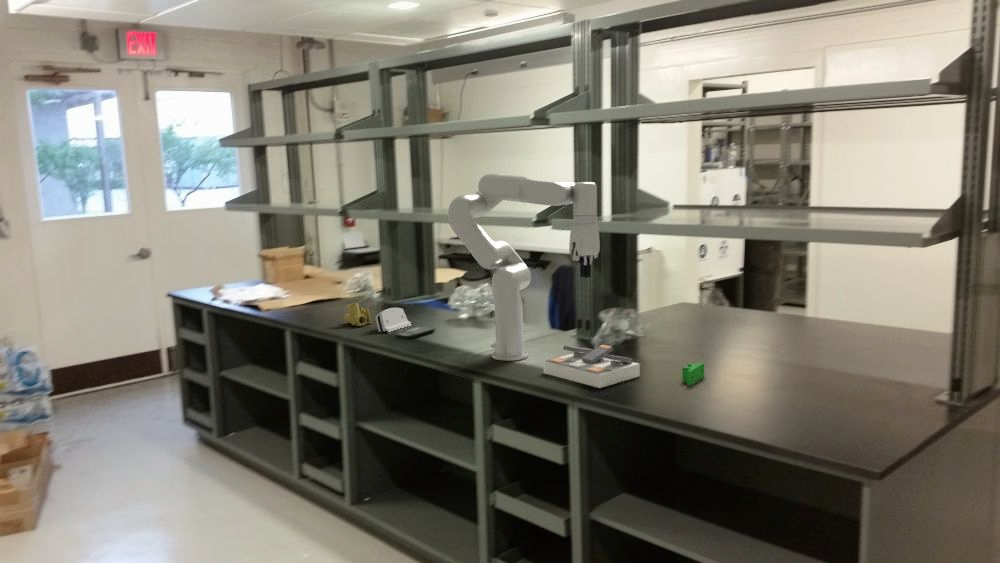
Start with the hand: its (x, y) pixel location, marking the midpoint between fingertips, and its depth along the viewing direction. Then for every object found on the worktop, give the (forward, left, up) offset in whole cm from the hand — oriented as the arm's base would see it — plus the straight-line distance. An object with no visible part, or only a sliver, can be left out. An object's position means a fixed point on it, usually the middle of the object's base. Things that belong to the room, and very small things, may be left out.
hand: (585, 276), depth 248 cm
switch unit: (+11, -9, -29) cm, 32 cm away
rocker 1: (+3, -6, -23) cm, 24 cm away
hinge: (-97, -14, -29) cm, 102 cm away
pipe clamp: (+37, +7, -29) cm, 48 cm away
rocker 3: (+19, -6, -23) cm, 30 cm away
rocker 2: (+11, -6, -23) cm, 26 cm away
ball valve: (-116, -19, -29) cm, 122 cm away
